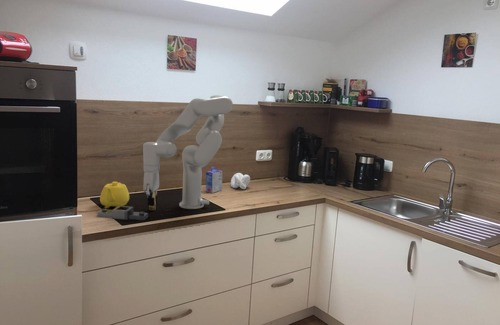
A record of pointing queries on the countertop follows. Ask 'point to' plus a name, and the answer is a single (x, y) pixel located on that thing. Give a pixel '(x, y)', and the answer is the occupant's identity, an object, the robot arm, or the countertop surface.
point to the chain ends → (122, 213)
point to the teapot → (114, 195)
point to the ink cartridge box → (213, 180)
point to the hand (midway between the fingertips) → (152, 204)
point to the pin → (154, 204)
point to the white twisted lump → (240, 181)
